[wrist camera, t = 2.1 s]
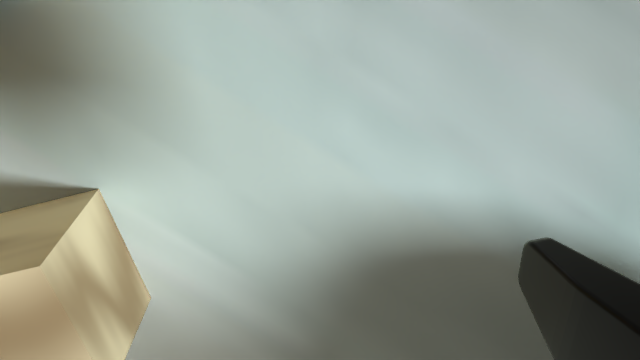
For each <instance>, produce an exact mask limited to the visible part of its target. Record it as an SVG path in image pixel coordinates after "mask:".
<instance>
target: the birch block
mask: <svg viewBox="0 0 640 360" xmlns="http://www.w3.org/2000/svg"><path fill="white" fill-rule="evenodd" d="M150 299H151V297H150V295H149V292H148V290H147V288H146V286H145V284H144V282H143V280H142V278H141V276H140V274H139V272H138V270H137V267H136V265H135V263H134V261H133V259H132V257H131V255H130V253H129V251H128V249H127V247H126V245H125V242H124V240H123V238H122V236H121V234H120V232H119V230H118V228H117V226H116V224H115V222H114V220H113V217H112V215H111V213H110V211H109V209H108V207H107V205H106V203H105V201H104V199H103V197H102V195H101V192H100V190H99V189H96V190H92V191H88V192H84V193H80V194H76V195H72V196H68V197H64V198H60V199H56V200H52V201H48V202H44V203H40V204H36V205H31V206H27V207H23V208H19V209H15V210H11V211H7V212H3V213H0V360H125V358H126V355H127V353H128V351H129V348H130V346H131V344H132V341H133V339H134V337H135V334H136V332H137V330H138V327H139V325H140V323H141V320H142V318H143V316H144V313H145V311H146V309H147V306H148V304H149V302H150Z"/></svg>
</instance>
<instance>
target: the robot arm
mask: <svg viewBox="0 0 640 360" xmlns="http://www.w3.org/2000/svg"><path fill="white" fill-rule="evenodd" d="M518 278H519V284H520V287H521V290H522V292H523V294H524V296H525V298H526V301H527V303H528V305H529V307H530V309H531V311H532V313H533V316H534V318H535V320H536V322H537V324H538V326H539V328H540V331H541V333H542V335H543V337H544V339H545V341H546V343H547V346H548V348H549V350H550V352H551V354H552V356H553V358H554V360H640V284H638V283H636V282H635V281H633V280H631V279H629V278H627V277H625V276H623V275H621V274H619V273H617V272H615V271H613V270H611V269H609V268H607V267H606V266H604V265H602V264H600V263H598V262H596V261H594V260H592V259H590V258H588V257H586V256H584V255H582V254H580V253H578V252H577V251H575V250H573V249H571V248H569V247H567V246H565V245H563V244H561V243H559V242H557V241H555V240H553V239H551V238H541V239H536V240H531V241H528V242H526V244H525V245H524V248H523V253H522V258H521V263H520V269H519V275H518Z"/></svg>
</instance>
